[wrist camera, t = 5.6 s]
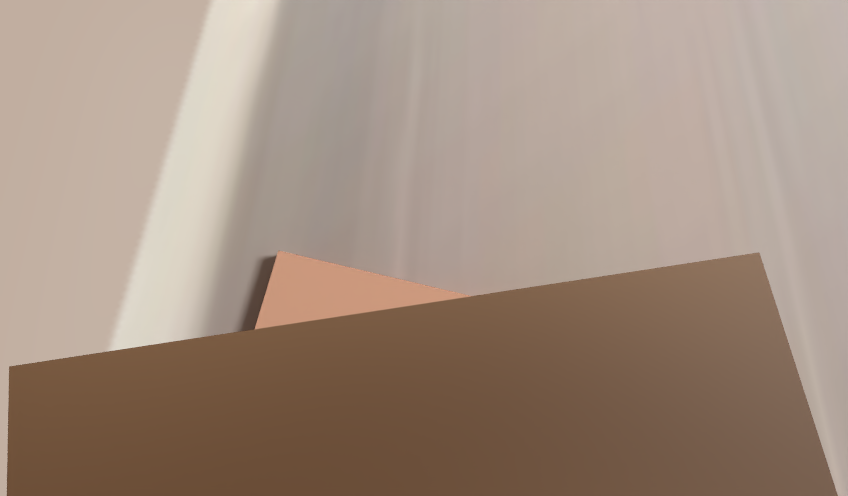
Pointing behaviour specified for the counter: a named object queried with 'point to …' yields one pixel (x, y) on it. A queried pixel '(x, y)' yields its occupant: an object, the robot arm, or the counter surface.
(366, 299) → the terracotta tile
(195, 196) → the counter surface
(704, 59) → the counter surface
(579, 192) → the counter surface
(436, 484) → the walnut block
